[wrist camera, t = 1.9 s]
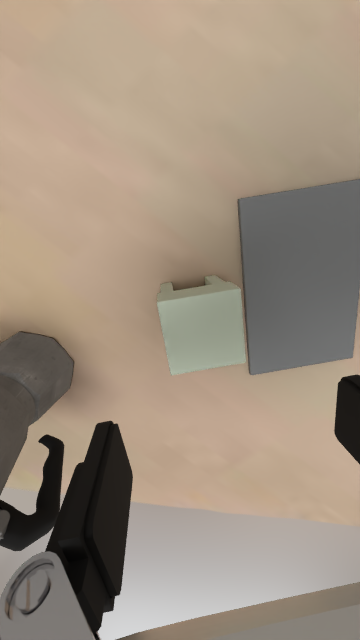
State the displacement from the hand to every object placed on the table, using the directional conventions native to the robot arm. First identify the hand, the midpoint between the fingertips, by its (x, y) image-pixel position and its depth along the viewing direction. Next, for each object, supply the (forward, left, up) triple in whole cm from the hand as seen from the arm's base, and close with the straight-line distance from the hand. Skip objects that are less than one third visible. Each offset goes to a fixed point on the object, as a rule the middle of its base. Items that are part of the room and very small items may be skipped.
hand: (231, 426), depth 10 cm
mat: (-13, 0, -18) cm, 22 cm away
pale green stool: (0, 0, -18) cm, 18 cm away
